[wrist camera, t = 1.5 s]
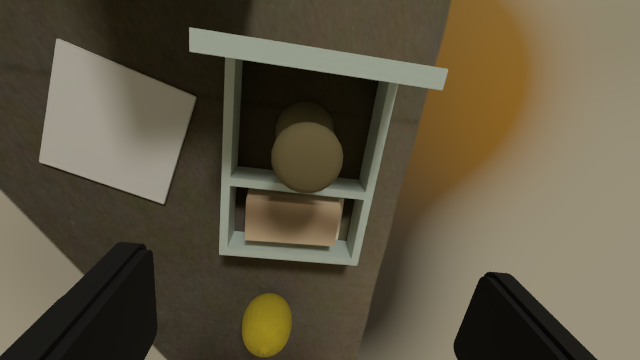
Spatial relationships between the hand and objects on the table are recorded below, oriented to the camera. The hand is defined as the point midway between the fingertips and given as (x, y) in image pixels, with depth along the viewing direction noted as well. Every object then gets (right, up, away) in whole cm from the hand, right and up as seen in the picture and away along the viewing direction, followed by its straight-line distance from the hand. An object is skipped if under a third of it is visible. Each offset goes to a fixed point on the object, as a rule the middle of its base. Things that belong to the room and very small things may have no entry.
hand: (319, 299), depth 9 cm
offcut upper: (-3, 0, +23) cm, 23 cm away
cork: (-2, +8, +22) cm, 24 cm away
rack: (-2, +6, +23) cm, 23 cm away
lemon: (-6, -11, +29) cm, 32 cm away
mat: (-20, +8, +20) cm, 30 cm away
